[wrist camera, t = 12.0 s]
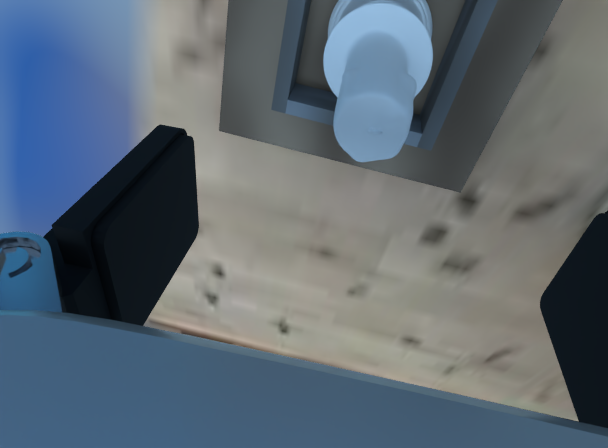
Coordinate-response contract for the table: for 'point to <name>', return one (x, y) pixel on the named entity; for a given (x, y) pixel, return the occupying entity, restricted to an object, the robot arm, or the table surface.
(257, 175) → the table surface
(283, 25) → the keeper board
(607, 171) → the table surface
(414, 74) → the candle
